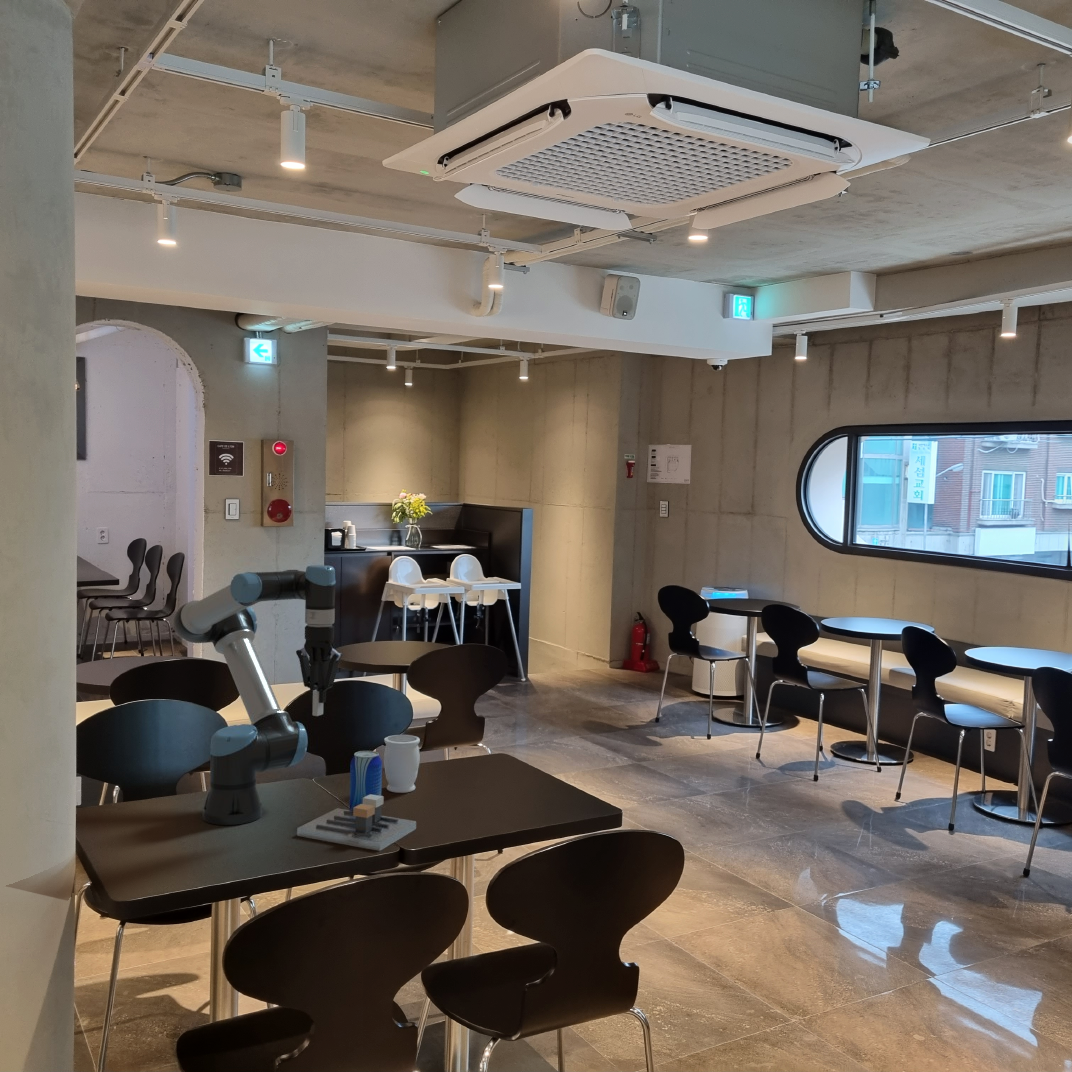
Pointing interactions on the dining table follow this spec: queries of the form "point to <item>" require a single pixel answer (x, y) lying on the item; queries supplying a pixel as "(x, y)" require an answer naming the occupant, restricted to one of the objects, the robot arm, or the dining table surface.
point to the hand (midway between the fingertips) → (317, 714)
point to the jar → (401, 762)
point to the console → (342, 831)
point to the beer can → (364, 776)
